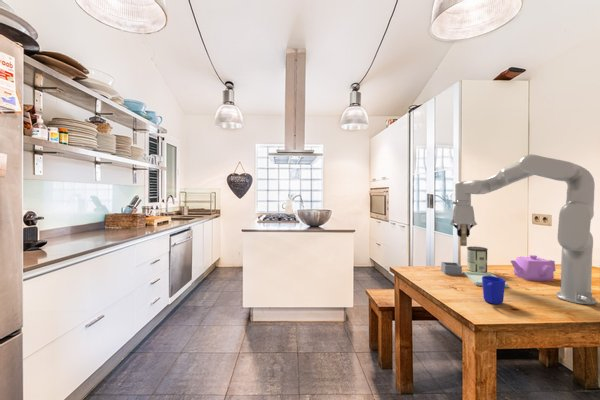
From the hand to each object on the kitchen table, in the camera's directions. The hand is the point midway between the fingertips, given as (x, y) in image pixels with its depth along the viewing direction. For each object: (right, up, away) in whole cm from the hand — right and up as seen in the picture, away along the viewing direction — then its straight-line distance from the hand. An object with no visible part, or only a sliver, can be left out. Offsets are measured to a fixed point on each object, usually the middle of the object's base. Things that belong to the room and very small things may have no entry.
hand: (463, 236), depth 159 cm
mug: (-10, -23, -39) cm, 47 cm away
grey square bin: (-4, -22, +5) cm, 23 cm away
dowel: (0, -5, 0) cm, 5 cm away
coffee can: (+13, -22, +10) cm, 28 cm away
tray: (+6, -22, -8) cm, 25 cm away
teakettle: (+36, -23, -3) cm, 43 cm away
